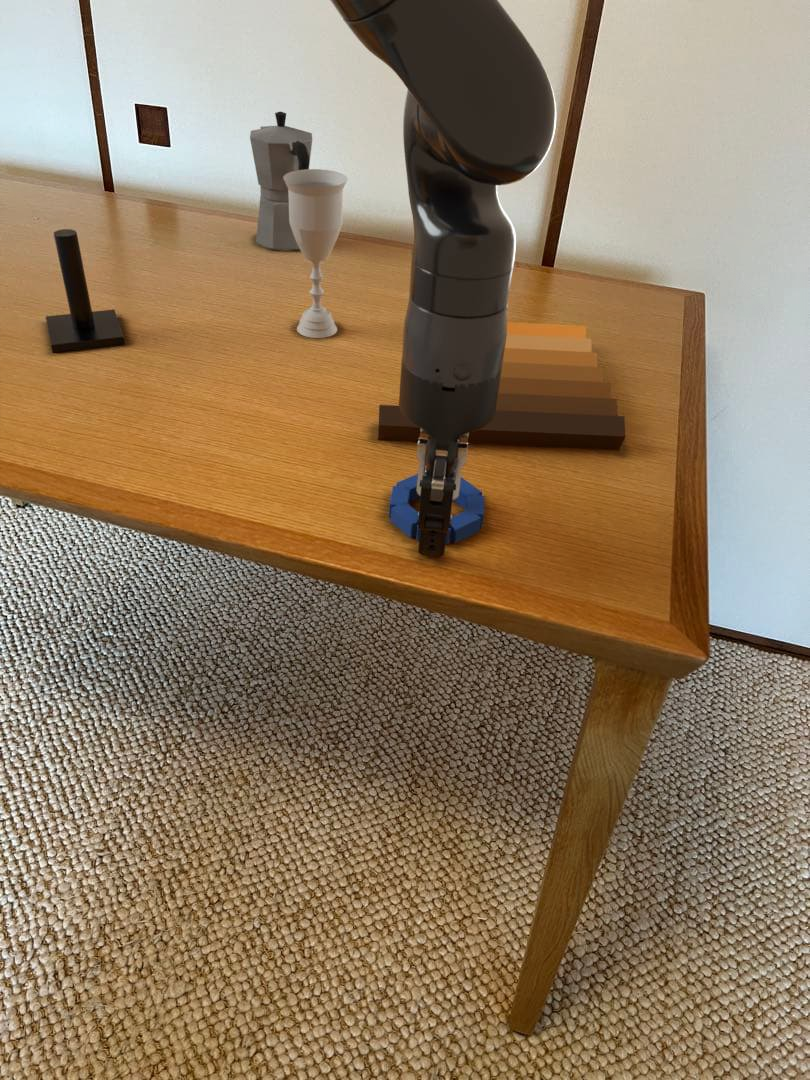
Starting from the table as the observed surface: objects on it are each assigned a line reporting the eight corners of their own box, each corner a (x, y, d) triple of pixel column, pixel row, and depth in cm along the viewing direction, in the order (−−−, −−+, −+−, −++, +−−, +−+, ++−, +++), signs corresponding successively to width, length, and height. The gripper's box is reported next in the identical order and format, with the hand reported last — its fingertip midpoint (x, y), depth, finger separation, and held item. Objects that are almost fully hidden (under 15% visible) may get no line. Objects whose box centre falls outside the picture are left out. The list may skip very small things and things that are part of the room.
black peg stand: (52, 353, 93) (28, 248, 85) (47, 324, 99) (23, 223, 91) (125, 344, 96) (107, 242, 88) (115, 316, 101) (98, 218, 94)
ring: (480, 548, 70) (483, 533, 69) (384, 537, 71) (385, 522, 70) (483, 492, 77) (485, 478, 76) (395, 482, 77) (396, 468, 76)
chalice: (325, 312, 106) (324, 166, 94) (356, 332, 102) (360, 181, 90) (277, 325, 102) (270, 174, 91) (308, 346, 98) (305, 191, 87)
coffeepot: (240, 230, 128) (232, 102, 116) (296, 223, 132) (293, 100, 120) (277, 264, 118) (272, 129, 106) (336, 256, 121) (337, 125, 110)
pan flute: (378, 442, 82) (620, 453, 84) (379, 413, 80) (628, 425, 81) (380, 335, 102) (577, 345, 103) (381, 309, 100) (582, 319, 101)
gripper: (411, 311, 66) (400, 483, 77) (390, 398, 55) (380, 584, 66) (503, 321, 66) (479, 492, 76) (501, 409, 55) (473, 595, 65)
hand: (433, 533), depth 71 cm, fingers open, 4 cm apart
